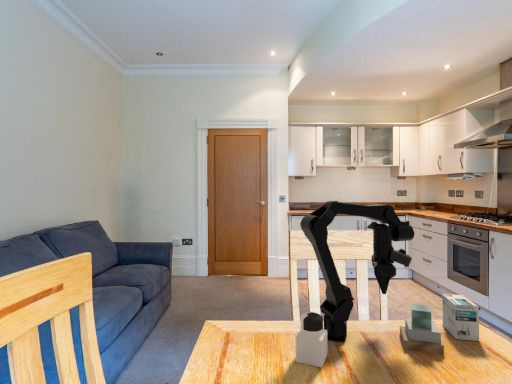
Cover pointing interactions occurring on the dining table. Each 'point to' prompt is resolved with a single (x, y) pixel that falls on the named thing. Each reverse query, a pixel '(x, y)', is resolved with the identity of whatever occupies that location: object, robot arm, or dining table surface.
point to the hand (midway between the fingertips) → (383, 289)
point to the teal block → (421, 316)
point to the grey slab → (423, 332)
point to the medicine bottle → (311, 340)
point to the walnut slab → (420, 344)
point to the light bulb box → (461, 317)
